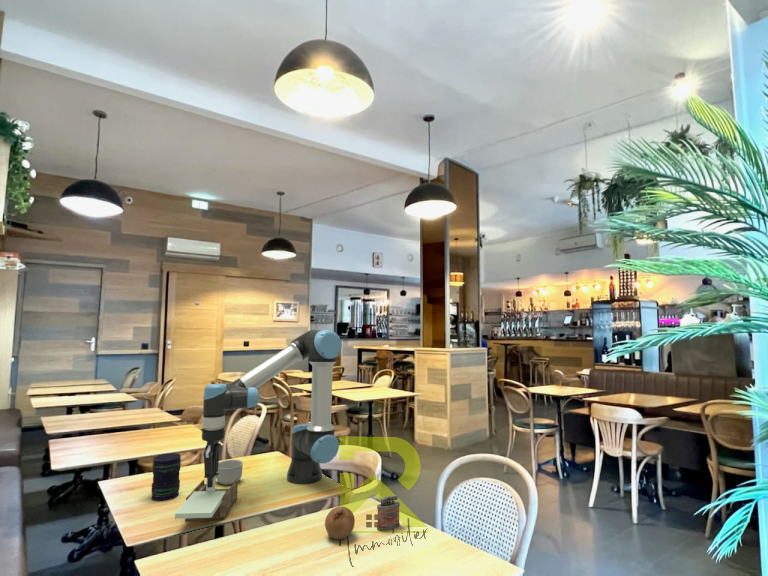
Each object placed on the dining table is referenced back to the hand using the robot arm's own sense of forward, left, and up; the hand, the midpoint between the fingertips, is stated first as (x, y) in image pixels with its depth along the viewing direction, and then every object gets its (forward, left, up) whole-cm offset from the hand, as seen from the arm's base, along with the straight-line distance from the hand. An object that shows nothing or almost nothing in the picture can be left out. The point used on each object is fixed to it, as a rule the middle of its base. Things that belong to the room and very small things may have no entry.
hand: (210, 495), depth 155 cm
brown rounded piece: (-46, +21, -6) cm, 51 cm away
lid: (0, +9, 0) cm, 9 cm away
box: (0, -3, -6) cm, 6 cm away
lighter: (-62, +16, -6) cm, 65 cm away
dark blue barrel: (+22, -17, -6) cm, 28 cm away
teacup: (+3, -31, -6) cm, 31 cm away
